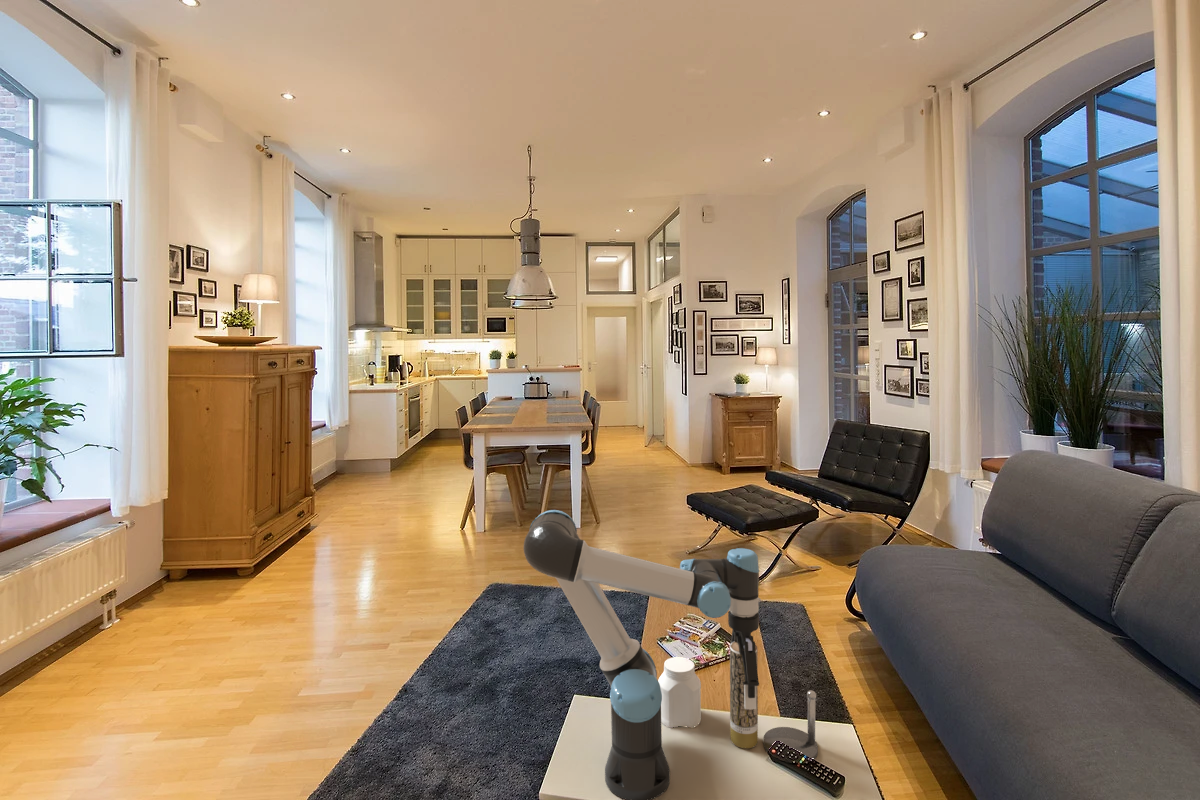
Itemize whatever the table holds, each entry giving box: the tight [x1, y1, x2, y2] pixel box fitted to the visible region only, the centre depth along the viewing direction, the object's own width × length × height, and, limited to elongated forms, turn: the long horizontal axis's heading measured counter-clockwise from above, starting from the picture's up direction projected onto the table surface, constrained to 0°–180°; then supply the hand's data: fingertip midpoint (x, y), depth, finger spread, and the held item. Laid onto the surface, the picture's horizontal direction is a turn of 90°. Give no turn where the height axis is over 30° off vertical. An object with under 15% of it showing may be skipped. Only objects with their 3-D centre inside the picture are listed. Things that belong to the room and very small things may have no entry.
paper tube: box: [729, 642, 759, 749], centre depth 154 cm, size 7×7×25 cm
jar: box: [657, 656, 702, 729], centre depth 166 cm, size 12×10×15 cm
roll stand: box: [762, 689, 819, 760], centre depth 152 cm, size 13×13×14 cm
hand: (744, 693), depth 154 cm, fingers open, 13 cm apart
